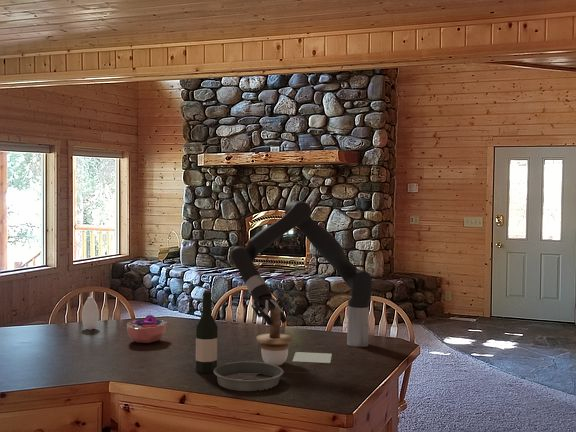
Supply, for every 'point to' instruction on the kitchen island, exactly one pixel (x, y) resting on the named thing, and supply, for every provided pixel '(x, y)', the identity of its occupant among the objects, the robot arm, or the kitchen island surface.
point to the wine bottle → (206, 338)
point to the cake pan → (247, 368)
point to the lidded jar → (274, 353)
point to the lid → (274, 331)
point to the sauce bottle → (90, 313)
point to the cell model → (146, 329)
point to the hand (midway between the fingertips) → (277, 323)
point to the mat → (312, 357)
